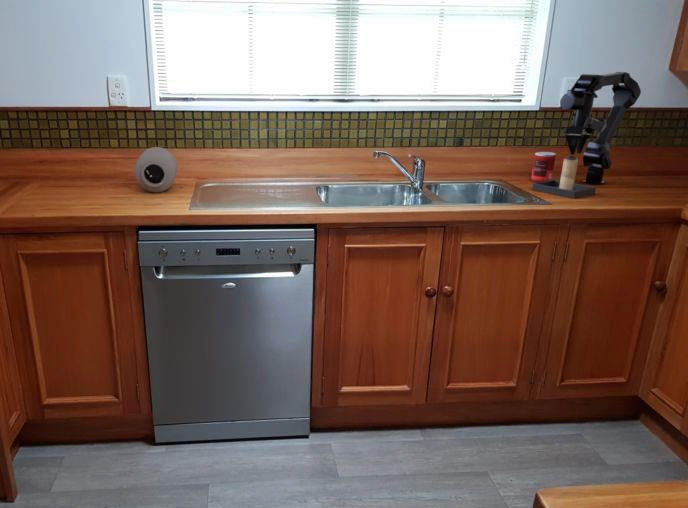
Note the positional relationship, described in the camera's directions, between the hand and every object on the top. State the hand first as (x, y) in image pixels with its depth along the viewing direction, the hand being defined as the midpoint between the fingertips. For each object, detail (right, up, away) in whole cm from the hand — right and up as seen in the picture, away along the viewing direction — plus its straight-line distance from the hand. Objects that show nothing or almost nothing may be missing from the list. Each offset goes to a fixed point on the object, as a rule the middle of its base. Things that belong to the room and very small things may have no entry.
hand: (575, 153), depth 228 cm
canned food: (-6, -7, +17) cm, 19 cm away
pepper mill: (-6, -15, -5) cm, 17 cm away
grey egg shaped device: (-155, -15, -4) cm, 156 cm away
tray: (-6, -15, -2) cm, 16 cm away
